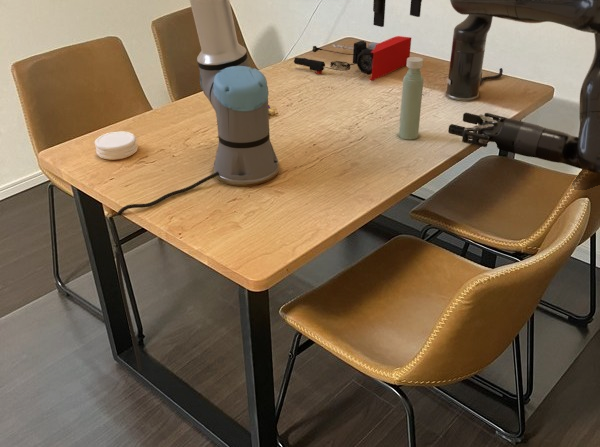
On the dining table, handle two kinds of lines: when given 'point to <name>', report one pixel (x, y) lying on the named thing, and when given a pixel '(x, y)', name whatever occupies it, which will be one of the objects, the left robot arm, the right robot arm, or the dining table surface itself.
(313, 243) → the dining table surface
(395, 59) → the electric hoist
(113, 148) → the white thick disc
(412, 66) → the cap
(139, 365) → the left robot arm
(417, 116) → the bottle
